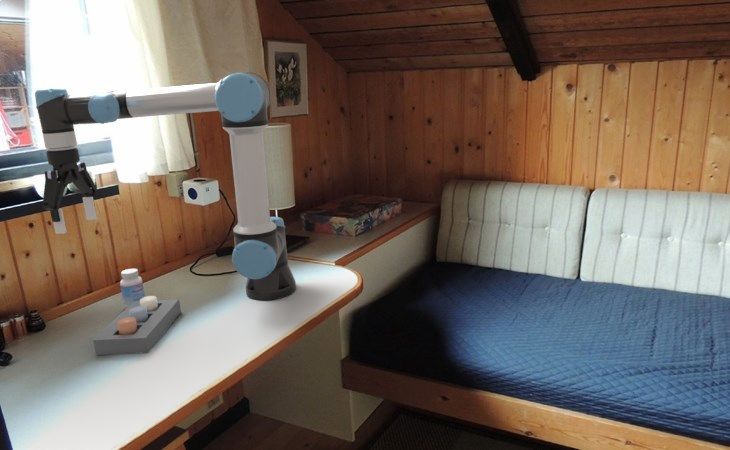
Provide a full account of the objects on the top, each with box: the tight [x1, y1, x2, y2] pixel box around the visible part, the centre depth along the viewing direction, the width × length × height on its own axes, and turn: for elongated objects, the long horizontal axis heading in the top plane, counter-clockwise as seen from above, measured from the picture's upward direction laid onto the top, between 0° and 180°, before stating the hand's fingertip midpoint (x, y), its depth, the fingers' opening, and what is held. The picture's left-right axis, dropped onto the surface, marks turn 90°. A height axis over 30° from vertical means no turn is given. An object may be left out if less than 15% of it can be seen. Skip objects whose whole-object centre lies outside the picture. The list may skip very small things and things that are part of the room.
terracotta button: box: [117, 317, 138, 335], centre depth 144 cm, size 4×4×4 cm
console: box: [92, 298, 182, 356], centre depth 152 cm, size 13×24×4 cm, turn 178°
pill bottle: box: [119, 268, 146, 310], centre depth 168 cm, size 6×6×11 cm
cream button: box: [140, 295, 158, 311], centre depth 158 cm, size 4×4×4 cm
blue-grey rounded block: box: [129, 306, 148, 323], centre depth 151 cm, size 4×4×4 cm
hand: (77, 226), depth 157 cm, fingers open, 13 cm apart
